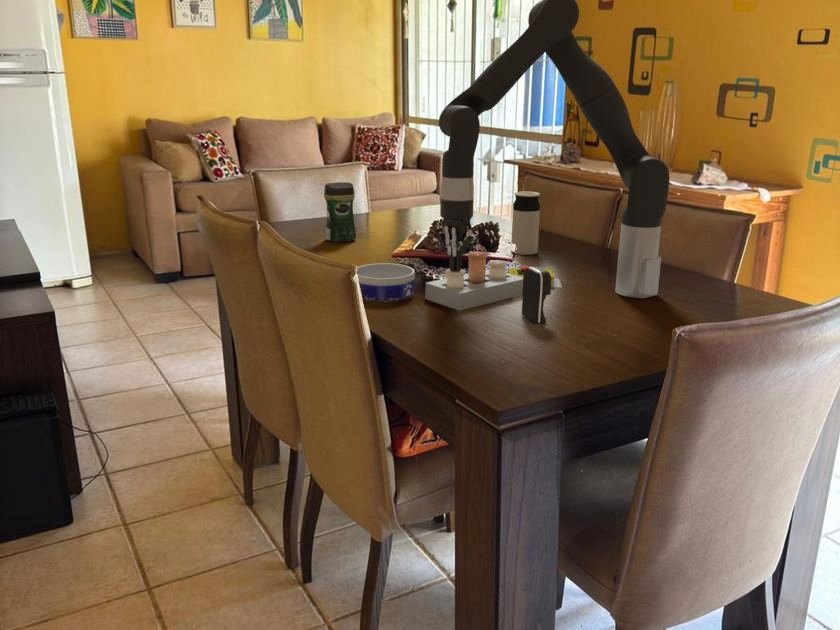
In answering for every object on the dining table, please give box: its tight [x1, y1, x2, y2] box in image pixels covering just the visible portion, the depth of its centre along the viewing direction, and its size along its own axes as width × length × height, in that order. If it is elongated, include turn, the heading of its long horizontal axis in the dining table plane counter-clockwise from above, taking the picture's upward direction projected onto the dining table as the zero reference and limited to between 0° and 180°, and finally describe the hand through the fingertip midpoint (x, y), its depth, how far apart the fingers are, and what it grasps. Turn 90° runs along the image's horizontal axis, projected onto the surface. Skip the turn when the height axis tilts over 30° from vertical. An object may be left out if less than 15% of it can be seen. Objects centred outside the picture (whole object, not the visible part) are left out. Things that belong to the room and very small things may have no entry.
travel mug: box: [511, 190, 541, 256], centre depth 228 cm, size 8×8×18 cm
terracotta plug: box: [467, 251, 488, 284], centre depth 182 cm, size 5×5×7 cm
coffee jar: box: [323, 181, 357, 243], centre depth 243 cm, size 10×8×19 cm
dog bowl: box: [356, 262, 416, 303], centre depth 185 cm, size 15×15×6 cm
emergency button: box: [507, 265, 563, 289], centre depth 197 cm, size 9×4×15 cm
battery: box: [521, 266, 552, 324], centre depth 166 cm, size 7×4×11 cm, turn 21°
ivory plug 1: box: [445, 268, 466, 289], centre depth 179 cm, size 5×5×7 cm
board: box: [424, 269, 523, 311], centre depth 183 cm, size 12×22×4 cm, turn 130°
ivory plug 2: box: [487, 259, 508, 280], centre depth 187 cm, size 5×5×7 cm
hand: (455, 270), depth 178 cm, fingers closed
